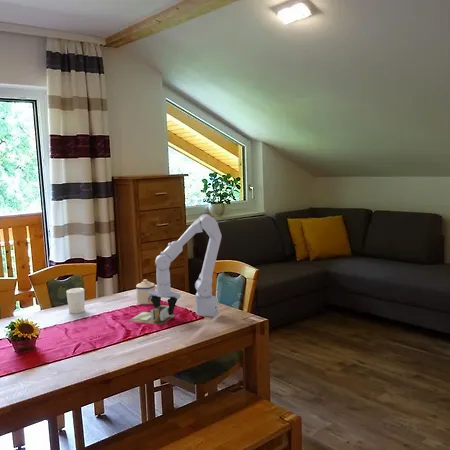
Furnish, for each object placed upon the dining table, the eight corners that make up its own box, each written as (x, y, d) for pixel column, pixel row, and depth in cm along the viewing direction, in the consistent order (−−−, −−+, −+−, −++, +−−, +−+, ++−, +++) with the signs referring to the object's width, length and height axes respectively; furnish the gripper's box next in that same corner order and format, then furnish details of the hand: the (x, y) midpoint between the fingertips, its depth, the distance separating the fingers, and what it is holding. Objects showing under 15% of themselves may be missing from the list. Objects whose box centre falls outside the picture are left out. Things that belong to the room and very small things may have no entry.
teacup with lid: (151, 306, 230) (150, 282, 229) (133, 305, 233) (132, 281, 231) (161, 299, 242) (160, 276, 240) (143, 298, 244) (142, 275, 243)
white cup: (88, 308, 230) (86, 287, 229) (81, 314, 223) (80, 292, 221) (72, 308, 231) (70, 287, 230) (65, 314, 223) (63, 292, 222)
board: (176, 316, 215) (175, 302, 214) (162, 327, 203) (161, 311, 202) (144, 313, 221) (143, 299, 220) (128, 323, 209) (127, 308, 208)
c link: (160, 313, 214) (159, 304, 214) (171, 314, 212) (171, 305, 212) (151, 319, 207) (150, 310, 206) (163, 320, 205) (162, 311, 204)
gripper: (143, 284, 209) (145, 315, 211) (174, 286, 204) (176, 318, 206) (151, 280, 216) (153, 309, 218) (182, 282, 211) (183, 312, 213)
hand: (165, 313), depth 212 cm, fingers closed on c link, 6 cm apart
